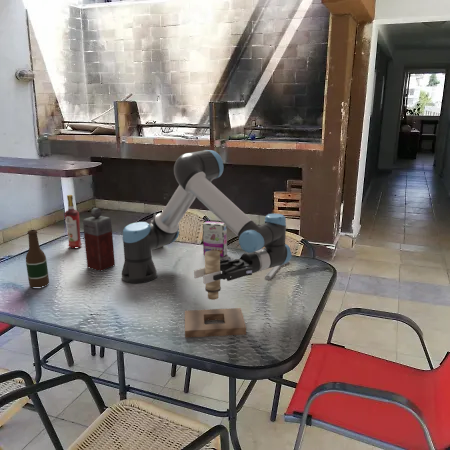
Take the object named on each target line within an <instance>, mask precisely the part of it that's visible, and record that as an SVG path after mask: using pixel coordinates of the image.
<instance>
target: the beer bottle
mask: <svg viewBox="0 0 450 450" xmlns="http://www.w3.org/2000/svg"><path fill="white" fill-rule="evenodd" d="M27 235H28V237H27V238H28V251H27V253H26V255H25V264H26V265H25V266H26V271H27V278H28V279H27V280H28V285H29V287H30V286H31V287H42V286H45V285H47V284H48V283H49V284H50V278H49V270H48V264H47V263H48V261H47V257H46V254H45V252H44V251H43V250H42V249H41V246H40V242H39V238H38V231H37V230H36V229H30V230H28V231H27ZM49 284H48V285H49ZM48 285H47V286H48ZM31 287H30V288H31Z"/></svg>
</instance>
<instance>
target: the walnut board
mask: <svg viewBox="0 0 450 450" xmlns="http://www.w3.org/2000/svg"><path fill="white" fill-rule="evenodd" d="M242 311H243V310H242V308H241V307H235V308H234V307H233V308H215V309H214V308H212V309H211V308H210V309H194V310H193V309H191V310H184V338H203V337H204V338H205V337H222V336H223V337H225V336H241V335H242V336H244V335H245V336H246V335H247V325H246V322H245V318H244V315H243V312H242ZM208 321H223V322H222V323H208V324H207V323H206V324H205V322H208Z"/></svg>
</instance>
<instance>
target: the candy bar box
mask: <svg viewBox="0 0 450 450" xmlns="http://www.w3.org/2000/svg"><path fill="white" fill-rule="evenodd" d="M227 232H228V227H227V226H226V225H225V224H224V223H223V222H222V221H221V222H219V221H218V222H217V221H205V222H203V223H202V242H203V243H202V245H203V246H202V247H203V249H202V250H203V251H202V252H203V255H204V256H205V252H206V251H211V250H215V251H219V252H220V258H225V257H226V255H228V236H227V235H228V233H227Z"/></svg>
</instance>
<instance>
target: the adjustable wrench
mask: <svg viewBox="0 0 450 450" xmlns="http://www.w3.org/2000/svg"><path fill="white" fill-rule="evenodd" d="M289 262H290V261H289ZM289 262H287V263H285V264H286V265H288V264H290V263H289ZM285 264H282V265H280V266H275V267H272V268H270V270H269V271H268V272H267V273H266V275H264V280H266V281H267V280H268V281H270V280H271V279H272V278H274V276H275V275H276V273H277V272H278V271H279V269H280V268H281V267H284V266H286V265H285Z"/></svg>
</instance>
